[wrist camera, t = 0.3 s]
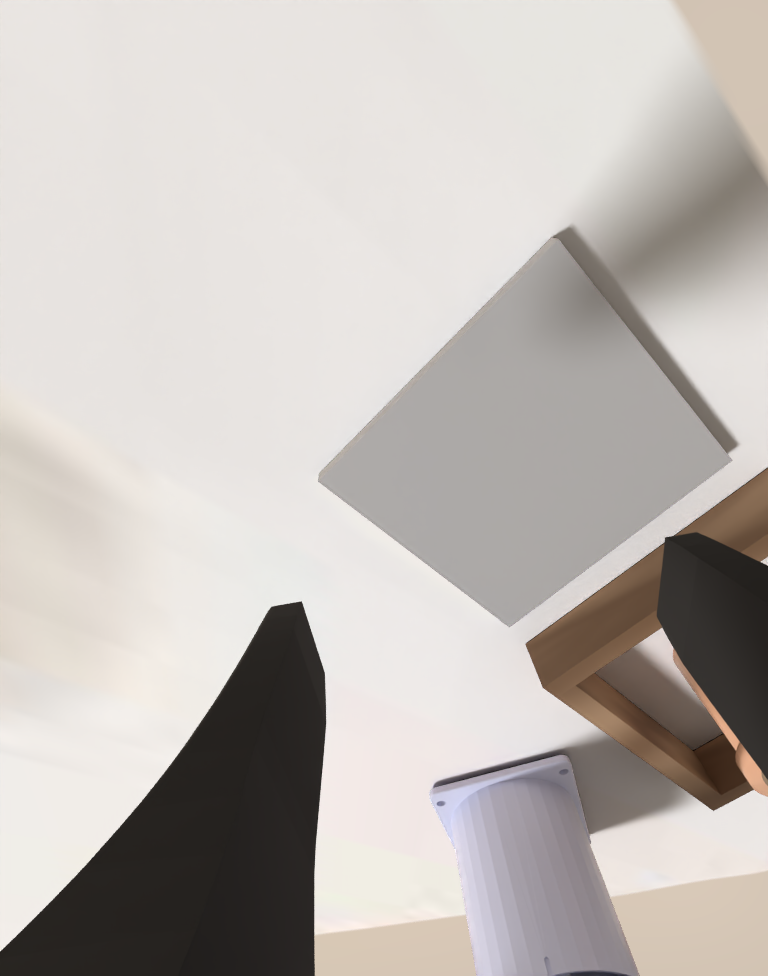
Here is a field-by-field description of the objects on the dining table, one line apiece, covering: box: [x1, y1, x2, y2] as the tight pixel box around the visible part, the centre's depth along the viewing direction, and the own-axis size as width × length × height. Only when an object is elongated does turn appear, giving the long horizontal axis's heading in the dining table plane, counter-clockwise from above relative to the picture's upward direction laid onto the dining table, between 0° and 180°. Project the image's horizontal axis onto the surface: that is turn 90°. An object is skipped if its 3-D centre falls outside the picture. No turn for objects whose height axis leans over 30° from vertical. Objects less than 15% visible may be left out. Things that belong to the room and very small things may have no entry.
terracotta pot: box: [673, 649, 768, 796], centre depth 23 cm, size 5×5×6 cm
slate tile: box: [318, 237, 732, 627], centre depth 20 cm, size 11×11×1 cm
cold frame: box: [526, 468, 768, 811], centre depth 25 cm, size 15×12×2 cm
